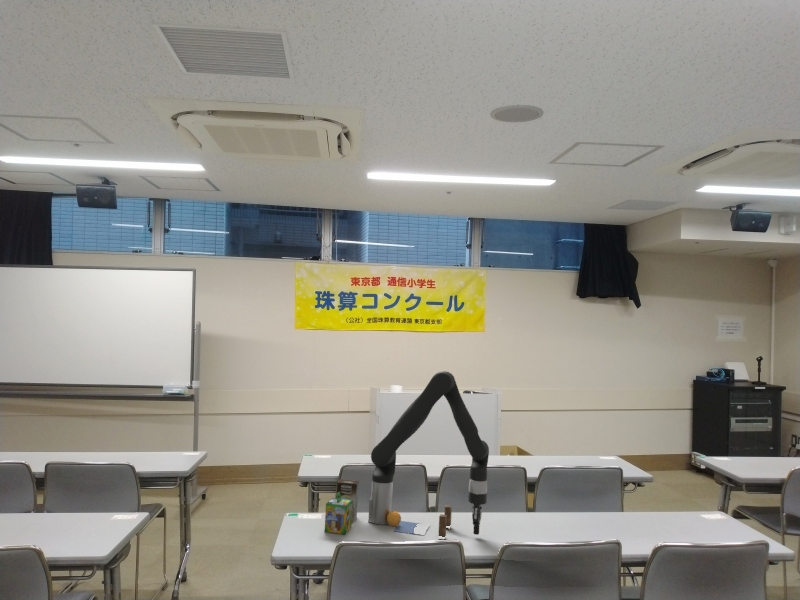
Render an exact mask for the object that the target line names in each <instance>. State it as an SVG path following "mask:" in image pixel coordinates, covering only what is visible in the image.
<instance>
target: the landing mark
mask: <svg viewBox="0 0 800 600" xmlns="http://www.w3.org/2000/svg"><path fill="white" fill-rule="evenodd" d="M417 524H420V523H419V522H411V521H405V520H404V521H403V520H401V522H400V523H399V525H397V526H395V528H394V529H393V533H401V534H402V533H403V534H408V533H411V534H410V535H415V534H414V528H415V527H417V526H416V525H417ZM412 533H413V534H412Z"/></svg>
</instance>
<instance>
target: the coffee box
mask: <svg viewBox="0 0 800 600" xmlns="http://www.w3.org/2000/svg"><path fill="white" fill-rule="evenodd" d="M359 487H360V480H355V479H346V478H345V479H344V478H339V479H338V481H337V482H336V494H337V493H338V492H340V495H341V499H348V500H353V504H352V523H354V522H356V520H357V516H358V502H359V489H360V488H359ZM336 494H335V495H336ZM335 498H337V497H335ZM338 498H339V495H338Z"/></svg>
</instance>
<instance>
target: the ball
mask: <svg viewBox="0 0 800 600" xmlns="http://www.w3.org/2000/svg"><path fill="white" fill-rule="evenodd" d="M387 521H388V525H389V526H391V527H397V526H398V525H399V523H400V522H401V521H402V516H401V514H400V513H399V512H398V511H395V510H393V511H392V510H391V512H390V513H389V514H388V516H387Z"/></svg>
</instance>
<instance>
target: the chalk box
mask: <svg viewBox="0 0 800 600" xmlns="http://www.w3.org/2000/svg"><path fill="white" fill-rule="evenodd" d="M336 493H337V492H336ZM338 495H339V498H338ZM335 496H336V497H337V498H336V497H332V498H331V499H329V500H328V501H327V502H326V503H325V518H324V533H325V532H328V533H327V534H336V535H337V534H338V535H347V533H348V532H349V531H350V530H351V529H352V523H353V522H352V504H353V500H348V499H341V495H340V492H338V493H337V494H335Z"/></svg>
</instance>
